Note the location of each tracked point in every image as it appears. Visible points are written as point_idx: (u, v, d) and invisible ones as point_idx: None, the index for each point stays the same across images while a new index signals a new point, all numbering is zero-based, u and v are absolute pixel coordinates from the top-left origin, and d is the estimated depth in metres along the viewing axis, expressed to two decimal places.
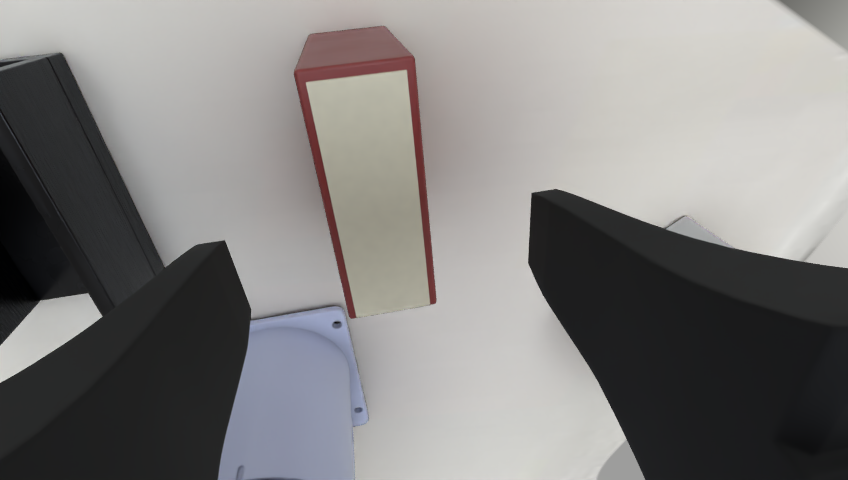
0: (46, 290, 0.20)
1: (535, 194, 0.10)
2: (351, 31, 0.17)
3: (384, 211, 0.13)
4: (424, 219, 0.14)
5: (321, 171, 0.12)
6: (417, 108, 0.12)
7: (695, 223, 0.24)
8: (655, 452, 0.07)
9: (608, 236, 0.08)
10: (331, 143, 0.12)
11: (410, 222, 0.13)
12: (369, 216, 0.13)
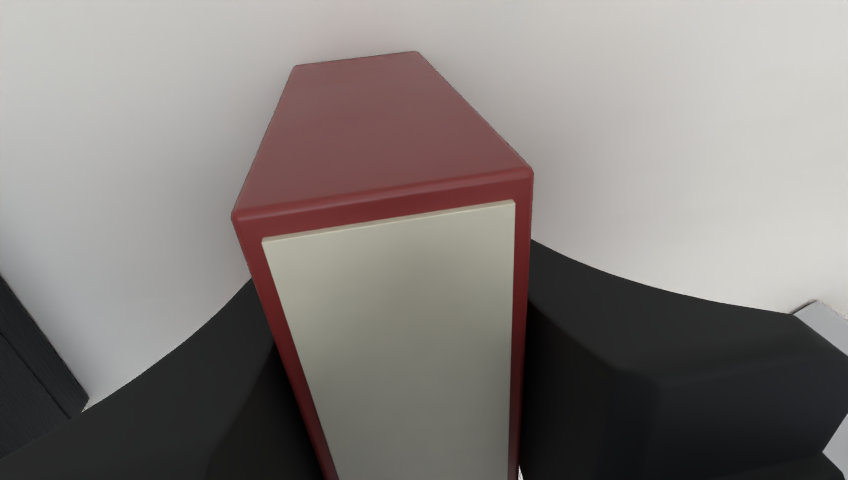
0: None
1: None
2: (364, 62, 0.10)
3: (438, 451, 0.06)
4: (513, 451, 0.07)
5: (306, 399, 0.06)
6: (526, 274, 0.05)
7: (836, 315, 0.17)
8: (534, 479, 0.07)
9: None
10: (328, 351, 0.05)
11: (486, 462, 0.07)
12: (405, 456, 0.06)
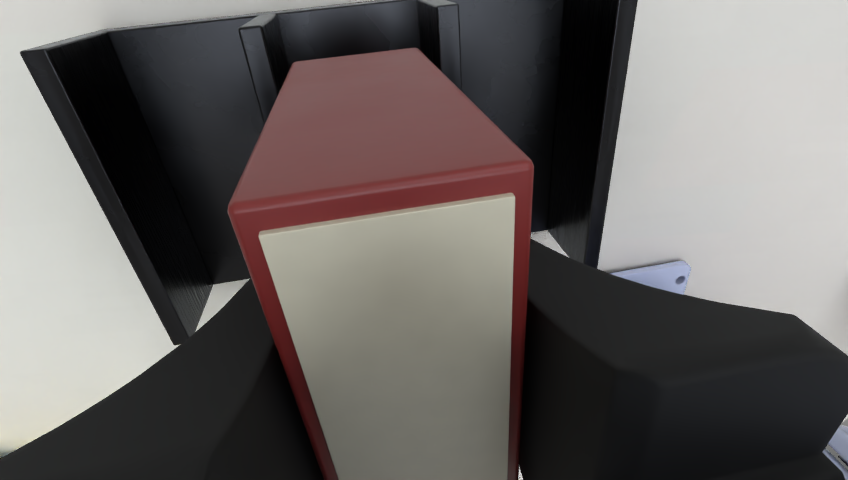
0: None
1: None
2: (363, 58, 0.10)
3: (437, 448, 0.06)
4: (513, 448, 0.07)
5: (304, 395, 0.06)
6: (526, 268, 0.05)
7: None
8: (534, 479, 0.07)
9: None
10: (326, 346, 0.05)
11: (486, 459, 0.07)
12: (403, 454, 0.06)
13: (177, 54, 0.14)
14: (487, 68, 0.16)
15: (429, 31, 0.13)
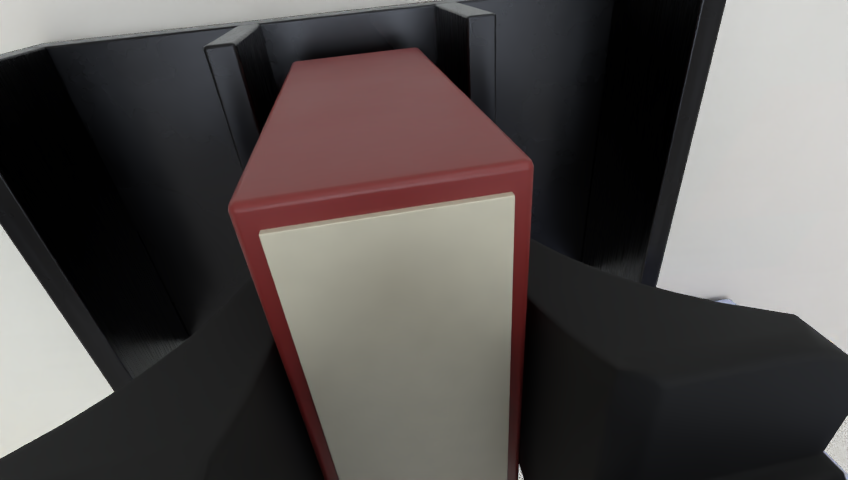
0: None
1: None
2: (363, 58, 0.10)
3: (437, 447, 0.06)
4: (513, 447, 0.07)
5: (304, 394, 0.06)
6: (526, 268, 0.05)
7: None
8: (534, 479, 0.07)
9: None
10: (326, 346, 0.05)
11: (485, 458, 0.07)
12: (403, 453, 0.06)
13: (137, 73, 0.11)
14: (518, 88, 0.13)
15: (453, 47, 0.10)
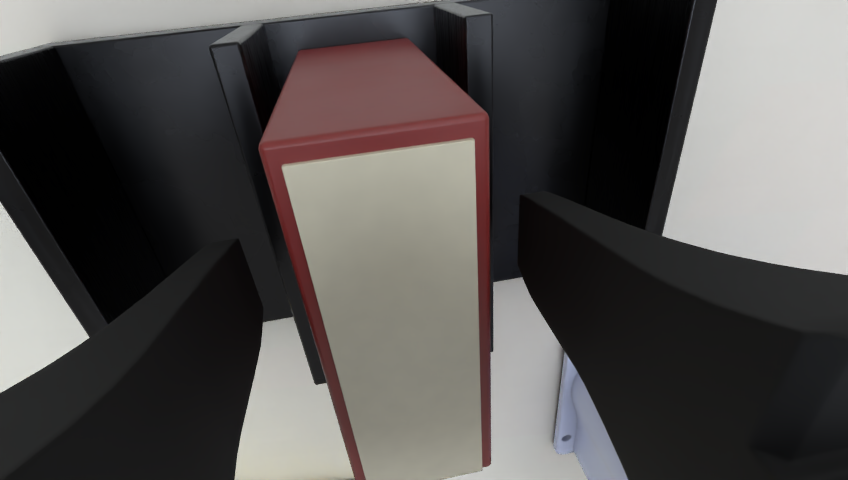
0: None
1: (523, 196, 0.10)
2: (360, 47, 0.11)
3: (421, 359, 0.08)
4: (484, 363, 0.08)
5: (313, 307, 0.07)
6: (487, 202, 0.07)
7: None
8: (638, 456, 0.07)
9: (592, 239, 0.08)
10: (331, 263, 0.07)
11: (461, 372, 0.08)
12: (393, 365, 0.08)
13: (142, 72, 0.11)
14: (515, 87, 0.13)
15: (451, 46, 0.10)
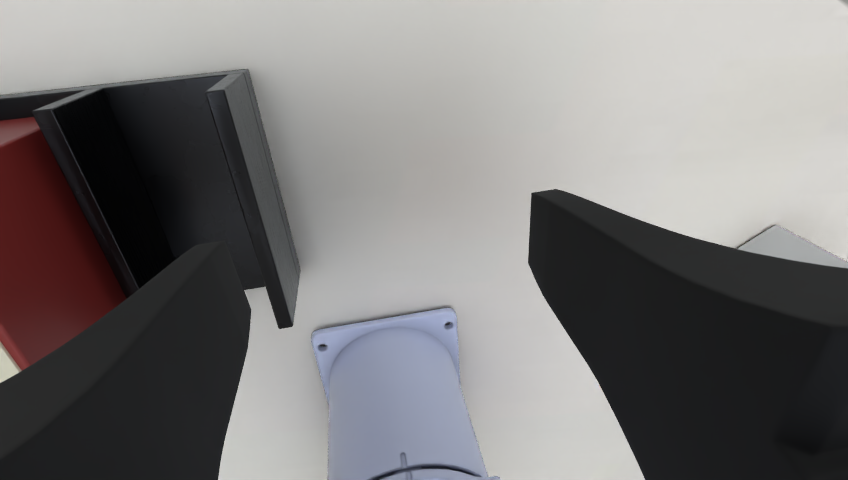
0: None
1: (535, 194, 0.10)
2: (20, 121, 0.16)
3: None
4: (8, 345, 0.12)
5: None
6: None
7: (787, 231, 0.25)
8: (655, 452, 0.07)
9: (608, 236, 0.08)
10: None
11: None
12: None
13: None
14: (176, 145, 0.18)
15: None
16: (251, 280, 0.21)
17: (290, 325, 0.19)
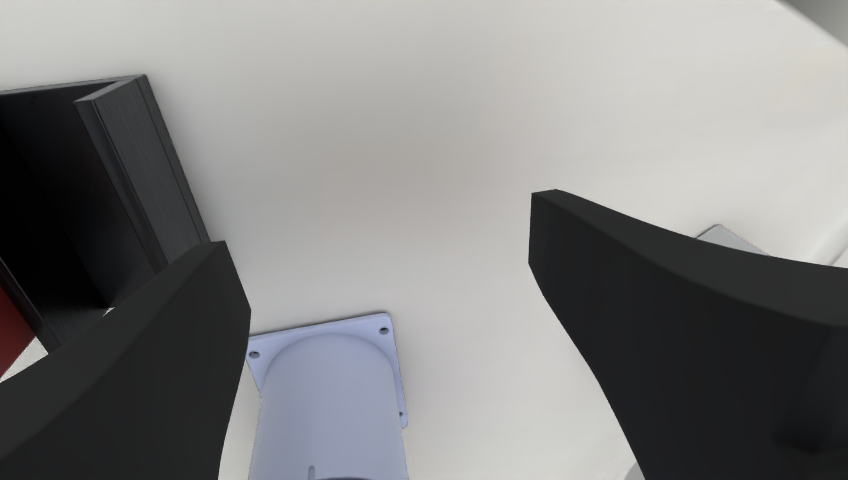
0: (115, 298, 0.20)
1: (535, 194, 0.10)
2: None
3: None
4: None
5: None
6: None
7: (728, 231, 0.25)
8: (655, 452, 0.07)
9: (608, 236, 0.08)
10: None
11: None
12: None
13: None
14: (72, 154, 0.17)
15: None
16: None
17: None
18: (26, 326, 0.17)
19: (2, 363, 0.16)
